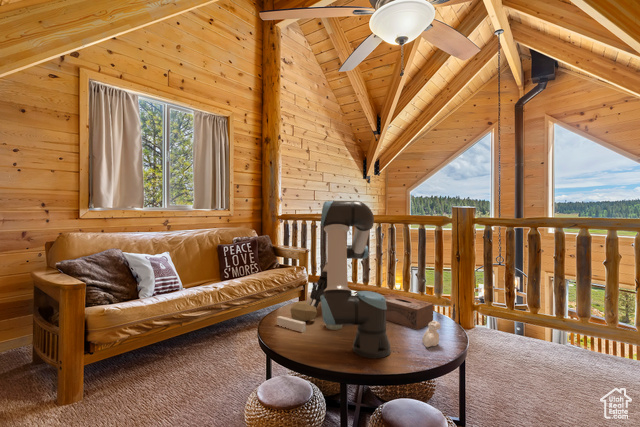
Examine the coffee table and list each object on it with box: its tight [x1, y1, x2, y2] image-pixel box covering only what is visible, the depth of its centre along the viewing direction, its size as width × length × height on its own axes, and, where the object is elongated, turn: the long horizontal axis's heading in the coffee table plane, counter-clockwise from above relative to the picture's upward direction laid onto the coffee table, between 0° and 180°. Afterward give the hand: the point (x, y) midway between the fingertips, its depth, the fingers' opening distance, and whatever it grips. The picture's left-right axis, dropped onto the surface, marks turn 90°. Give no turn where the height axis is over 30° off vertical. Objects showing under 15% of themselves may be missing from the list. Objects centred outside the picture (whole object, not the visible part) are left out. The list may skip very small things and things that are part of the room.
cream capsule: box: [306, 292, 312, 305], centre depth 191 cm, size 6×6×7 cm
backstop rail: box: [276, 315, 307, 333], centre depth 155 cm, size 2×16×4 cm, turn 56°
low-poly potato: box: [290, 300, 318, 322], centre depth 165 cm, size 15×11×12 cm
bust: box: [421, 320, 442, 348], centre depth 137 cm, size 12×8×11 cm
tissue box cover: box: [383, 293, 434, 331], centre depth 168 cm, size 26×14×10 cm, turn 41°
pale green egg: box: [325, 324, 343, 331], centre depth 157 cm, size 8×8×9 cm
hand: (310, 311), depth 169 cm, fingers closed
